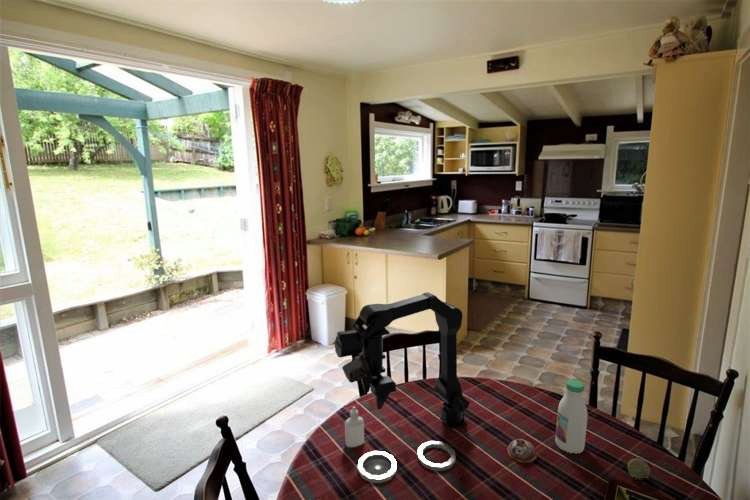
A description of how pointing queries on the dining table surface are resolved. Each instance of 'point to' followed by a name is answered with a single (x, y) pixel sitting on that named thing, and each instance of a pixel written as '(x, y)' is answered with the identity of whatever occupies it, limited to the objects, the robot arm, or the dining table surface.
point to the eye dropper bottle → (354, 429)
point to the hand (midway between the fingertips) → (372, 400)
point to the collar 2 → (433, 465)
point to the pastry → (522, 451)
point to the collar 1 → (377, 467)
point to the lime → (638, 468)
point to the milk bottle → (572, 419)
